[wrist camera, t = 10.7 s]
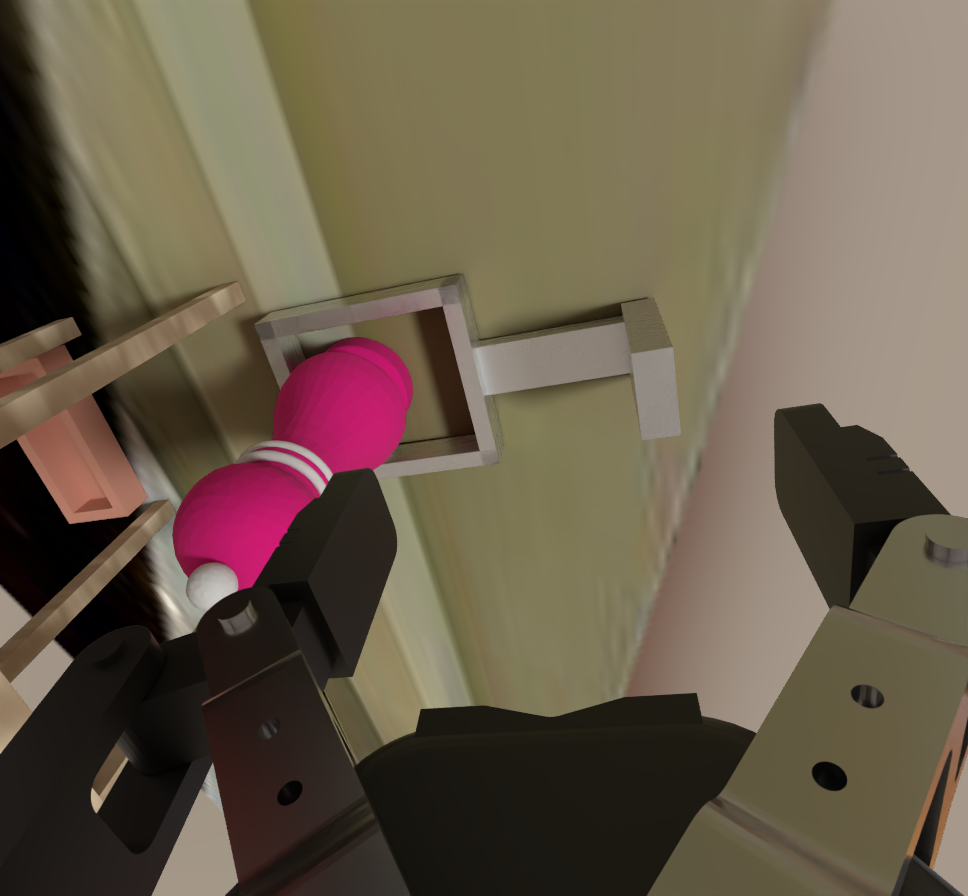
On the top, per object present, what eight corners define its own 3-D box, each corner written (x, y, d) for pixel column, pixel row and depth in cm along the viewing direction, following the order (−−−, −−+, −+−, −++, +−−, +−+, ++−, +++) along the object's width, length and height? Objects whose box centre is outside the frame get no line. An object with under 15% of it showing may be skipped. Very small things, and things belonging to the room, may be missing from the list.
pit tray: (3, 357, 42) (-27, 370, 40) (64, 344, 41) (37, 357, 39) (91, 505, 48) (69, 523, 46) (148, 497, 47) (127, 516, 45)
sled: (271, 312, 38) (203, 359, 31) (647, 236, 33) (665, 272, 26) (331, 468, 43) (283, 539, 36) (666, 422, 38) (686, 493, 31)
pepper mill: (442, 373, 39) (332, 594, 21) (386, 454, 42) (251, 702, 25) (341, 305, 38) (137, 481, 20) (291, 394, 41) (79, 611, 24)
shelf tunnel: (56, 320, 41) (-505, 556, 20) (238, 281, 38) (-191, 509, 17) (162, 514, 47) (-171, 845, 26) (323, 494, 44) (93, 847, 23)
